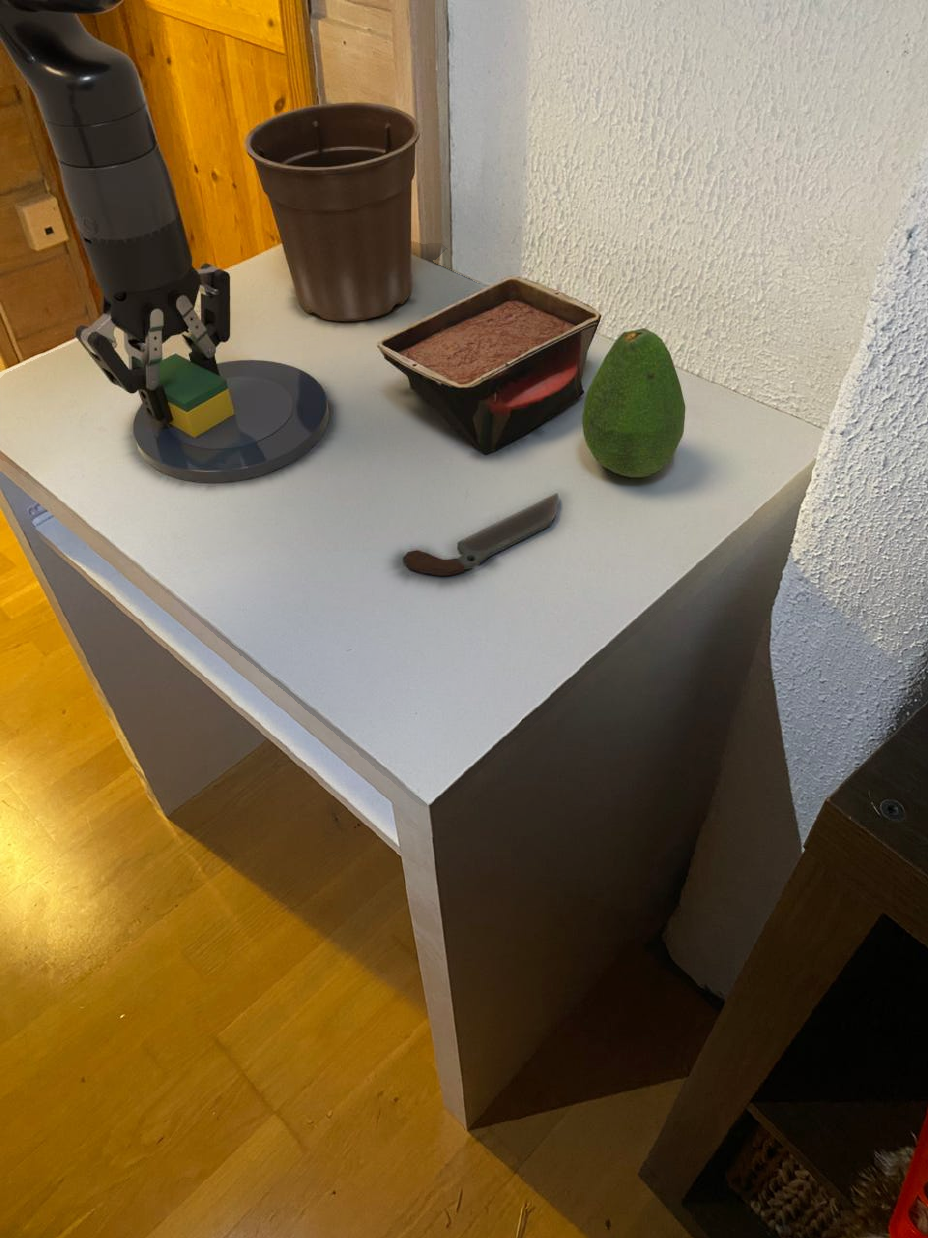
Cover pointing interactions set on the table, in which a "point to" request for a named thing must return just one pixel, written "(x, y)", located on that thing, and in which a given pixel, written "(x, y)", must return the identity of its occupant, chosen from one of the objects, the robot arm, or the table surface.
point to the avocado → (634, 406)
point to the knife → (488, 540)
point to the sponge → (194, 395)
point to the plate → (242, 426)
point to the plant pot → (341, 203)
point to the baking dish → (498, 359)
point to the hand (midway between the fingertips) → (186, 405)
